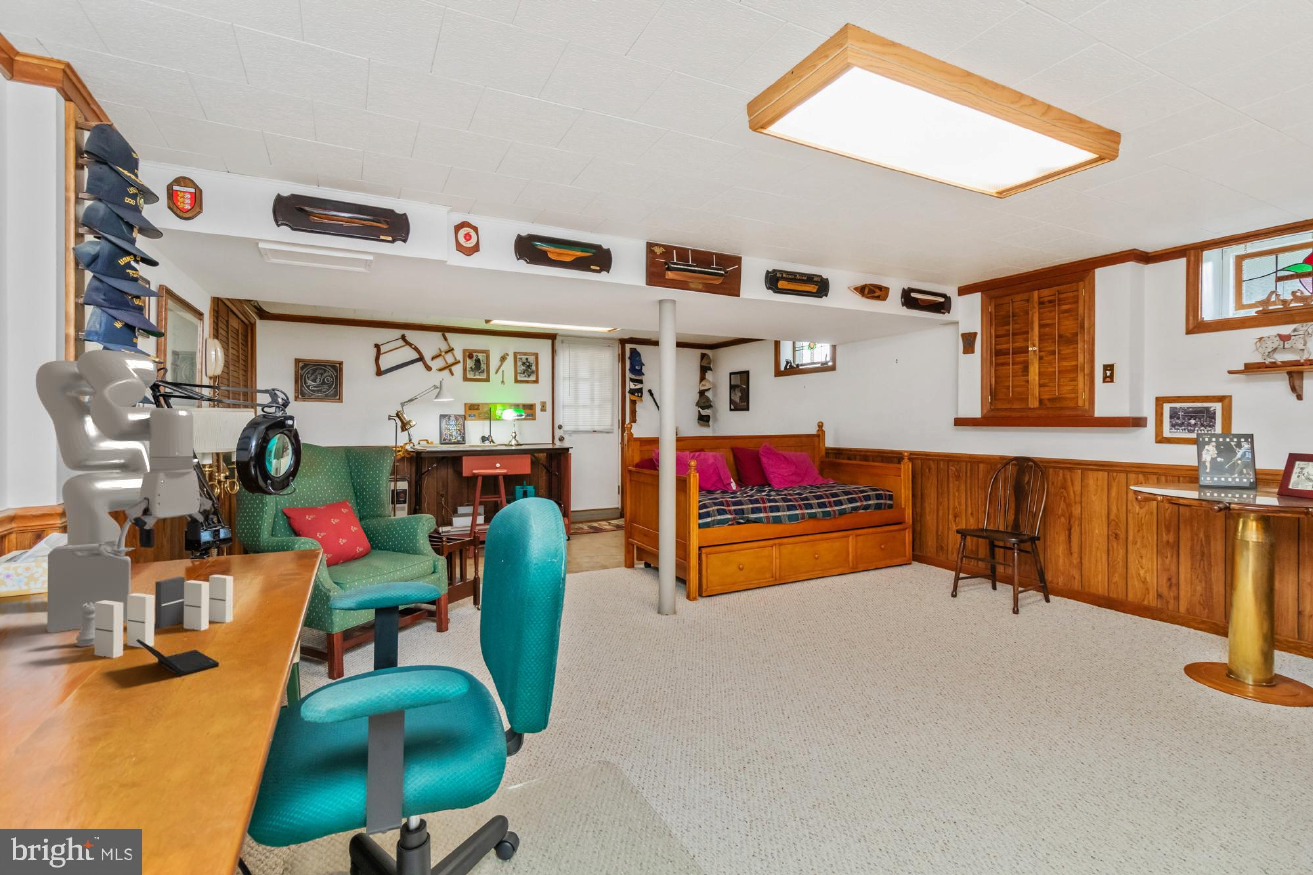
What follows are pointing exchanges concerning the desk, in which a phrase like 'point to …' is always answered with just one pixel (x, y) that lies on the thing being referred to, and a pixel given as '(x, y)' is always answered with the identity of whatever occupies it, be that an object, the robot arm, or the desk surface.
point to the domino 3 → (169, 602)
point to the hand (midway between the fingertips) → (171, 543)
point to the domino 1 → (109, 628)
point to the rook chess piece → (87, 626)
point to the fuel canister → (86, 580)
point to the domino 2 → (140, 619)
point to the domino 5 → (221, 598)
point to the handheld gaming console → (183, 661)
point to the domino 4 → (196, 605)
